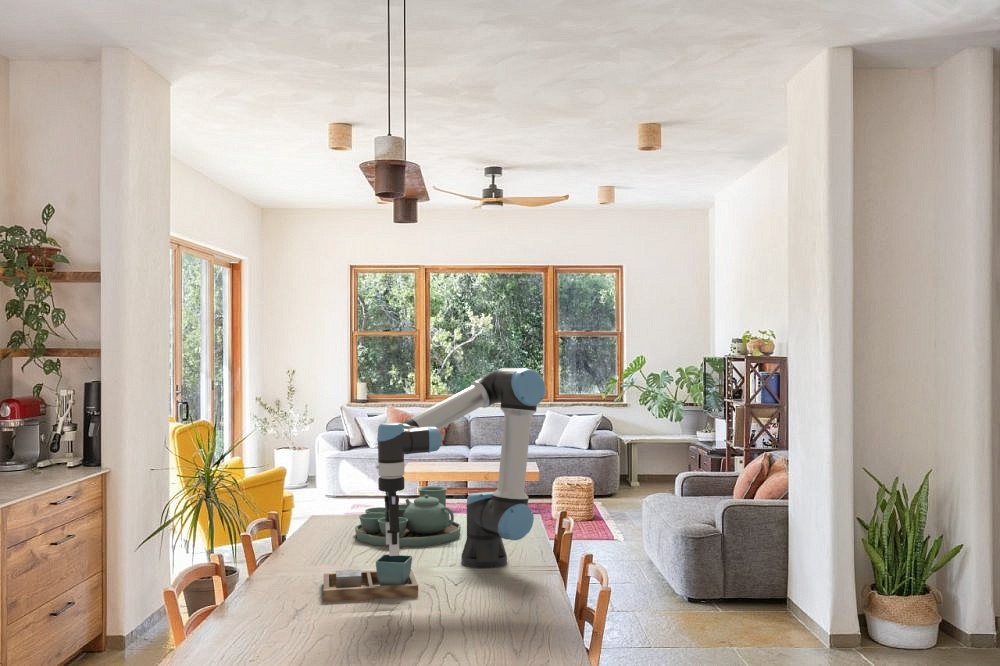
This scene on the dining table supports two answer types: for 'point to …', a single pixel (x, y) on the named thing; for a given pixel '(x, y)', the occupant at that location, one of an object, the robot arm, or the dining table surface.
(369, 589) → the wooden divided tray
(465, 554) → the robot arm
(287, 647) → the dining table surface
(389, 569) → the flower pot
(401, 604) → the dining table surface
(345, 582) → the grey metal block
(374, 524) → the tea set
